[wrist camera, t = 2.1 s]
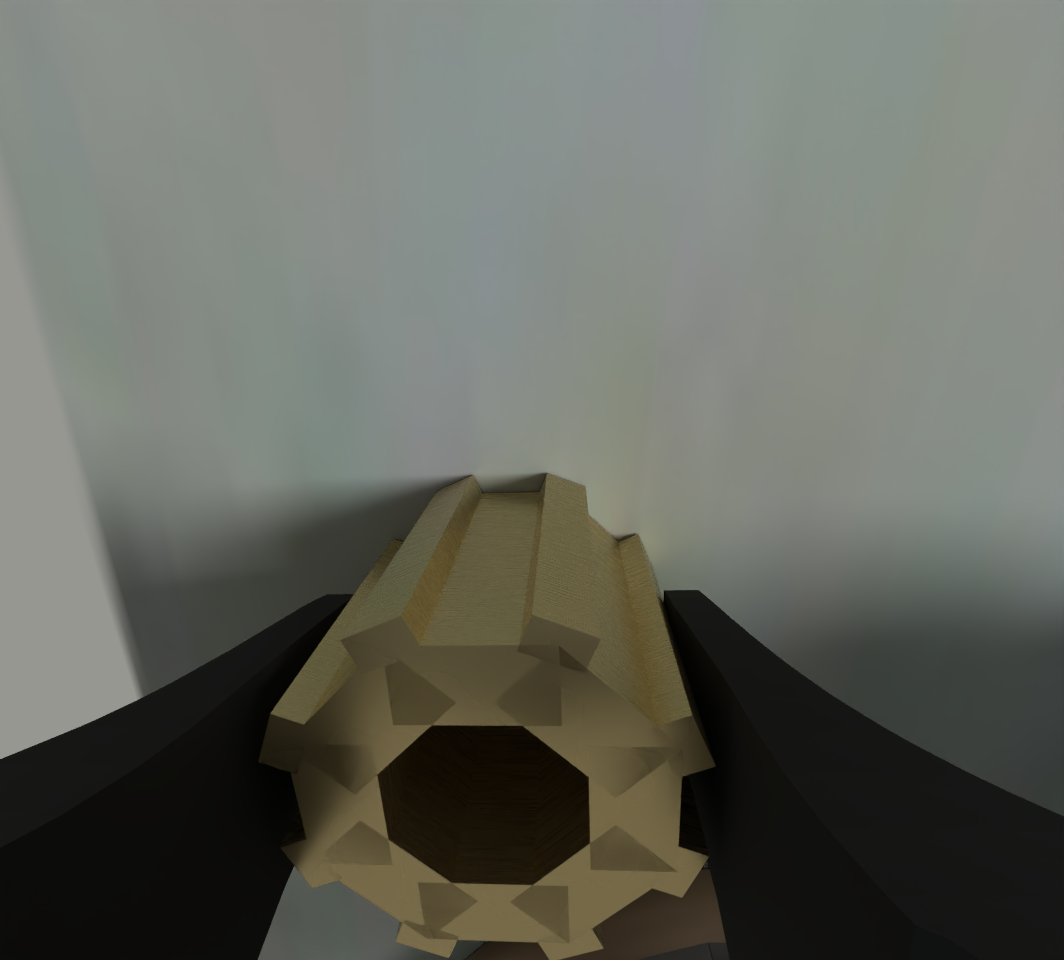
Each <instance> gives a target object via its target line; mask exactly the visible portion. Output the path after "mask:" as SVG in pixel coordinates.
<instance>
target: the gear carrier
mask: <svg viewBox="0 0 1064 960" xmlns="http://www.w3.org/2000/svg"><path fill="white" fill-rule="evenodd" d="M602 927H603V944H604V949H600V950H596V951H592V952H588V953H584V954H580V955H576V956H572V957H568V958H564V959H560V960H730V959H729V954H728V949H727V944H726V940H725V935H724V930H723V925H722V920H721V916H720V911H719V906H718V901H717V897H716V893H715V889H714V885H713V881H712V877H711V873H710V870H709V869H702V870H700V872H699V873H698V875H697V876H696V878H695V879H694V881H693V882H692V884H691V885H690V887H689V888H688V890H687V891H686V893H685V894H684V896H683V897H682V898H681V897H678V896H675V895H672V894H669V893H666V892H662V891H659V890H656V889H653V888H652V889H651V890H649V891H648V892H646V893H645V894H643V895H642V896H640V897H639V898H637V899H636V900H634V901H633V902H631V903H630V904H628V905H627V906H625V907H624V908H622V909H621V910H619V911H618V912H616V913H615V914H613V915H612V916H610V917H609V918H607V919H606V920H604V921H603V922H602ZM466 960H549V958H548V957H547V955H546V954H545V952H544V951H543V949H542V948H541V946H540V945H539V943H538V942H507V941H488V942H486V943H485V944H484V945H483V946H481V947H480V948H479V949H478V950H477V951H475V952H474V953H473V954H472V955H471V956H469V957H468V958H467V959H466Z"/></svg>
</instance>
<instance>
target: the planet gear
mask: <svg viewBox="0 0 1064 960" xmlns="http://www.w3.org/2000/svg"><path fill="white" fill-rule="evenodd" d="M258 762H260V763H263V764H266V765H269V766H272V767H275V768H278V769H281V770H285V771H288V772H291V776H292V780H293V785H294V789H295V793H296V797H297V802H298V806H299V812H298V814H297V816H296V818H295V820H294V822H293V824H292V826H291V828H290V830H289V832H288V834H287V836H286V838H285V840H284V841H283V843H282V845H281V847H280V848H281V849H282V851H283V852H284V853H285V854H286V856H287V857H288V858H289V859H290V861H291V862H292V863H293V864H294V866H295V867H296V868H297V869H298V871H299V872H300V873H301V875H302V876H303V877H304V878H305V880H306V881H307V882H308V883H309V885H310V886H311V887H312V888H315V887H318V886H321V885H325V884H328V883H331V882H335V881H340V882H341V883H343V884H344V885H346V886H347V887H349V888H350V889H352V890H353V891H355V892H356V893H358V894H359V895H361V896H362V897H364V898H366V899H367V900H369V901H370V902H372V903H373V904H375V905H376V906H378V907H379V908H381V909H382V910H384V911H385V912H387V913H388V914H390V915H391V916H393V917H394V918H396V919H397V920H399V921H400V925H399V928H398V932H397V936H396V940H395V942H397V943H401V944H404V945H407V946H410V947H414V948H417V949H420V950H424V951H427V952H430V953H433V954H437V955H440V956H443V957H446V958H449V957H450V955H451V953H452V951H453V948H454V946H455V944H456V942H457V940H476V941H507V942H538V943H539V945H540V946H541V948H542V949H543V951H544V952H545V954H546V955H547V957H548V958H549V960H560V959H564V958H568V957H572V956H576V955H580V954H584V953H588V952H592V951H596V950H600V949H604V944H603V927H602V922H603V921H604V920H606V919H607V918H609V917H610V916H612V915H613V914H615V913H616V912H618V911H619V910H621V909H622V908H624V907H625V906H627V905H628V904H630V903H631V902H633V901H634V900H636V899H637V898H639V897H640V896H642V895H643V894H645V893H646V892H648V891H649V890H651V889H652V888H653V889H656V890H659V891H662V892H666V893H669V894H672V895H675V896H678V897H681V898H682V897H683V896H684V894H685V893H686V891H687V890H688V888H689V887H690V885H691V884H692V882H693V881H694V879H695V878H696V876H697V875H698V873H699V872H700V870H701V869H702V867H703V865H704V864H705V862H706V861H707V859H708V858H709V854H708V850H707V846H706V842H705V838H704V834H703V830H702V826H701V822H700V818H699V814H698V810H697V806H696V802H695V799H694V795H693V791H692V787H691V783H690V779H689V775H690V774H693V773H696V772H699V771H703V770H706V769H709V768H713V767H716V765H715V762H714V759H713V755H712V752H711V749H710V746H709V743H708V740H707V737H706V733H705V730H704V727H703V724H702V721H701V718H700V715H699V711H698V708H697V705H696V702H695V699H694V696H693V692H692V689H691V686H690V683H689V680H688V677H687V674H686V670H685V667H684V664H683V661H682V658H681V655H680V651H679V648H678V645H677V642H676V639H675V637H674V634H673V630H672V627H671V624H670V621H669V618H668V615H667V611H666V608H665V605H664V601H663V598H662V595H661V592H660V588H659V585H658V582H657V579H656V576H655V573H654V570H653V567H652V564H651V562H650V560H649V558H648V555H647V553H646V551H645V549H644V546H643V544H642V542H641V540H640V537H639V535H638V534H637V535H634V536H631V537H629V538H626V539H624V540H621V541H619V542H618V541H617V540H616V539H615V538H614V537H613V536H611V535H610V534H609V533H608V532H607V531H606V530H605V529H604V528H602V527H601V526H600V525H599V524H598V523H597V522H596V521H595V520H593V519H592V518H591V517H590V516H589V515H588V505H587V496H586V487H585V486H582V485H579V484H576V483H574V482H571V481H568V480H565V479H563V478H560V477H557V476H554V475H552V474H549V473H547V474H546V477H545V479H544V482H543V484H542V487H541V489H540V492H511V493H482V491H481V489H480V487H479V485H478V483H477V481H476V479H475V477H474V476H473V475H472V476H469V477H467V478H465V479H462V480H460V481H458V482H456V483H453V484H451V485H449V486H446V487H444V488H442V489H440V490H437V492H436V493H435V495H434V496H433V498H432V499H431V501H430V503H429V504H428V506H427V507H426V509H425V510H424V512H423V513H422V515H421V516H420V518H419V519H418V521H417V523H416V524H415V526H414V527H413V529H412V530H411V532H410V533H409V535H408V536H407V538H406V539H405V541H404V542H402V541H399V540H396V539H393V540H392V541H391V543H390V544H389V545H388V547H387V548H386V550H385V551H384V553H383V554H382V555H381V557H380V558H379V560H378V561H377V563H376V564H375V565H374V567H373V568H372V570H371V571H370V572H369V574H368V575H367V577H366V578H365V580H364V581H363V582H362V584H361V585H360V587H359V588H358V590H357V591H356V592H355V594H354V595H353V597H352V598H351V600H350V601H349V602H348V604H347V605H346V607H345V608H344V609H343V611H342V612H341V614H340V615H339V617H338V618H337V619H336V621H335V622H334V624H333V625H332V627H331V628H330V629H329V631H328V632H327V634H326V635H325V637H324V638H323V639H322V641H321V642H320V644H319V645H318V646H317V648H316V649H315V651H314V652H313V654H312V655H311V656H310V658H309V659H308V661H307V662H306V664H305V665H304V666H303V668H302V669H301V671H300V672H299V674H298V675H297V676H296V678H295V679H294V681H293V682H292V683H291V685H290V686H289V688H288V689H287V691H286V692H285V693H284V695H283V696H282V698H281V699H280V701H279V702H278V703H277V705H276V706H275V708H274V709H273V711H272V712H271V713H270V717H269V721H268V725H267V729H266V733H265V737H264V741H263V745H262V749H261V753H260V757H259V761H258Z"/></svg>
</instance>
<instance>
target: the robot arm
mask: <svg viewBox="0 0 1064 960" xmlns="http://www.w3.org/2000/svg"><path fill="white" fill-rule="evenodd" d="M353 595H354V594H338V595H325V596H323V597H321V598H319V599H316V600H315V601H313V602H311V603H309V604H307V605H305V606H304V607H302V608H300V609H298V610H297V611H295V612H293V613H292V614H290V615H288V616H286V617H285V618H283V619H281V620H280V621H278V622H276V623H275V624H273V625H271V626H270V627H268V628H266V629H265V630H263V631H261V632H260V633H258V634H256V635H255V636H253V637H251V638H250V639H248V640H246V641H245V642H243V643H241V644H240V645H238V646H236V647H235V648H233V649H231V650H230V651H228V652H226V653H224V654H223V655H221V656H219V657H217V658H215V659H214V660H212V661H210V662H208V663H206V664H205V665H203V666H201V667H199V668H197V669H196V670H194V671H192V672H190V673H188V674H187V675H185V676H183V677H181V678H179V679H178V680H176V681H174V682H172V683H170V684H168V685H167V686H165V687H163V688H161V689H159V690H157V691H155V692H153V693H151V694H149V695H147V696H145V697H143V698H141V699H139V700H137V701H135V702H133V703H131V704H128V705H126V706H124V707H122V708H120V709H118V710H116V711H114V712H111V713H110V714H107V715H105V716H103V717H101V718H99V719H96V720H94V721H92V722H90V723H88V724H85V725H83V726H81V727H79V728H76V729H73V730H71V731H69V732H66V733H64V734H61V735H59V736H56V737H54V738H51V739H49V740H47V741H44V742H42V743H39V744H37V745H34V746H32V747H29V748H27V749H25V750H22V751H20V752H17V753H15V754H12V755H10V756H7V757H5V758H3V759H0V960H258V957H259V954H260V951H261V949H262V946H263V943H264V941H265V938H266V936H267V933H268V930H269V928H270V925H271V922H272V920H273V917H274V914H275V912H276V909H277V906H278V904H279V901H280V898H281V896H282V893H283V890H284V888H285V885H286V883H287V881H288V879H289V876H290V874H291V872H292V869H293V867H294V864H293V863H292V862H291V861H290V859H289V858H288V857H287V856H286V854H285V853H284V852H283V851H282V849H281V848H280V847H281V845H282V843H283V841H284V840H285V838H286V836H287V834H288V832H289V830H290V828H291V826H292V824H293V822H294V820H295V818H296V816H297V814H298V812H299V806H298V802H297V797H296V793H295V789H294V785H293V780H292V776H291V772H288V771H285V770H281V769H278V768H275V767H272V766H269V765H266V764H263V763H260V762H258V761H259V757H260V753H261V749H262V745H263V741H264V737H265V733H266V729H267V725H268V721H269V717H270V713H271V712H272V711H273V709H274V708H275V706H276V705H277V703H278V702H279V701H280V699H281V698H282V696H283V695H284V693H285V692H286V691H287V689H288V688H289V686H290V685H291V683H292V682H293V681H294V679H295V678H296V676H297V675H298V674H299V672H300V671H301V669H302V668H303V666H304V665H305V664H306V662H307V661H308V659H309V658H310V656H311V655H312V654H313V652H314V651H315V649H316V648H317V646H318V645H319V644H320V642H321V641H322V639H323V638H324V637H325V635H326V634H327V632H328V631H329V629H330V628H331V627H332V625H333V624H334V622H335V621H336V619H337V618H338V617H339V615H340V614H341V612H342V611H343V609H344V608H345V607H346V605H347V604H348V602H349V601H350V600H351V598H352V597H353ZM664 605H665V608H666V611H667V615H668V618H669V621H670V624H671V627H672V630H673V634H674V637H675V639H676V642H677V645H678V648H679V651H680V655H681V658H682V661H683V664H684V667H685V670H686V674H687V677H688V680H689V683H690V686H691V689H692V692H693V696H694V699H695V702H696V705H697V708H698V711H699V715H700V718H701V721H702V724H703V727H704V730H705V733H706V737H707V740H708V743H709V746H710V749H711V752H712V755H713V759H714V762H715V765H716V767H713V768H709V769H706V770H703V771H699V772H696V773H693V774H690V775H689V779H690V783H691V787H692V791H693V795H694V799H695V802H696V806H697V810H698V814H699V818H700V822H701V826H702V830H703V834H704V838H705V842H706V846H707V850H708V854H709V858H708V859H707V862H708V866H709V870H710V873H711V877H712V881H713V885H714V889H715V893H716V897H717V901H718V906H719V911H720V916H721V920H722V925H723V930H724V935H725V940H726V944H727V949H728V954H729V959H730V960H1064V817H1063V816H1061V815H1059V814H1057V813H1054V812H1052V811H1050V810H1048V809H1045V808H1043V807H1041V806H1039V805H1036V804H1034V803H1032V802H1030V801H1027V800H1025V799H1023V798H1021V797H1018V796H1016V795H1014V794H1012V793H1010V792H1007V791H1005V790H1003V789H1001V788H999V787H997V786H995V785H993V784H991V783H989V782H987V781H984V780H982V779H980V778H978V777H976V776H974V775H972V774H970V773H968V772H966V771H964V770H962V769H960V768H958V767H956V766H954V765H952V764H950V763H949V762H947V761H945V760H943V759H941V758H939V757H937V756H935V755H933V754H931V753H929V752H927V751H926V750H924V749H922V748H920V747H918V746H916V745H914V744H912V743H910V742H909V741H907V740H905V739H903V738H901V737H900V736H898V735H896V734H894V733H893V732H891V731H889V730H887V729H886V728H884V727H882V726H881V725H879V724H877V723H876V722H874V721H872V720H871V719H869V718H867V717H866V716H864V715H863V714H861V713H859V712H858V711H856V710H854V709H853V708H851V707H849V706H848V705H846V704H845V703H843V702H841V701H840V700H838V699H837V698H835V697H834V696H832V695H831V694H829V693H828V692H826V691H825V690H823V689H822V688H820V687H819V686H818V685H816V684H815V683H813V682H812V681H811V680H809V679H808V678H806V677H805V676H804V675H802V674H801V673H799V672H798V671H797V670H795V669H794V668H792V667H791V666H790V665H788V664H787V663H786V662H784V661H783V660H782V659H780V658H779V657H778V656H777V655H775V654H774V653H773V652H771V651H770V650H769V649H768V648H766V647H765V646H764V645H763V644H761V643H760V642H759V641H758V640H756V639H755V638H754V637H753V636H751V635H750V634H749V633H748V632H747V631H745V630H744V629H743V628H742V627H741V626H740V625H738V624H737V623H736V622H735V621H734V620H733V619H731V618H730V617H729V616H728V615H727V614H726V613H724V612H723V611H722V610H721V609H720V608H719V607H718V606H716V605H715V604H714V603H713V602H712V601H711V600H710V599H708V598H707V597H706V596H705V595H704V594H702V593H701V592H700V591H699V590H674V591H664Z"/></svg>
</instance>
